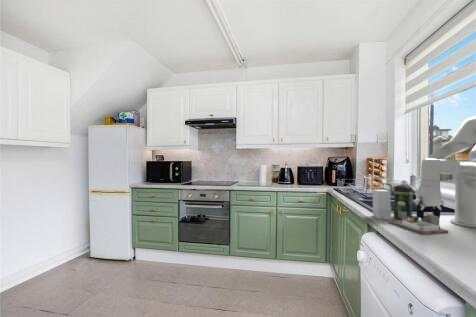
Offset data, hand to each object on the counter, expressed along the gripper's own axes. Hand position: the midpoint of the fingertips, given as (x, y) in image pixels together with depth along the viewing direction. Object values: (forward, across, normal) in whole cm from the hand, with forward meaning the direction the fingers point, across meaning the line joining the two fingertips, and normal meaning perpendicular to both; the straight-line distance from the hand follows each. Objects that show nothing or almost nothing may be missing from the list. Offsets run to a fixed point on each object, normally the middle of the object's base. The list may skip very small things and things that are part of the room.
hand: (428, 217), depth 114 cm
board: (+4, +9, +2) cm, 10 cm away
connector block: (+4, -1, 0) cm, 4 cm away
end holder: (+4, +10, +5) cm, 12 cm away
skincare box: (+5, +12, -16) cm, 21 cm away
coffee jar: (+4, 0, -14) cm, 15 cm away
